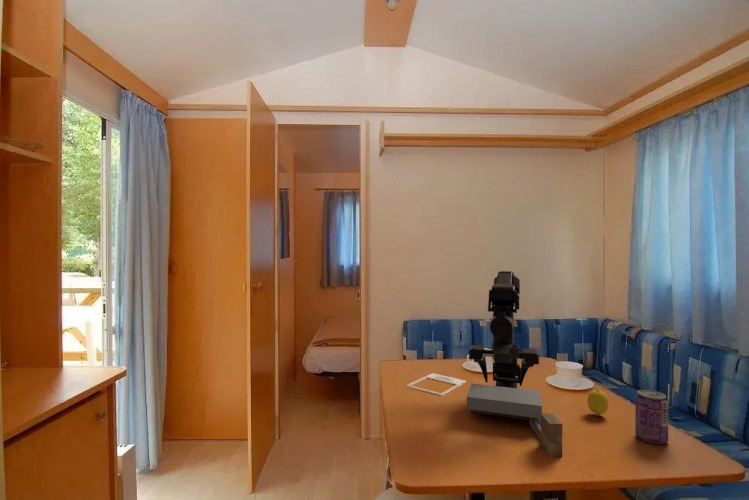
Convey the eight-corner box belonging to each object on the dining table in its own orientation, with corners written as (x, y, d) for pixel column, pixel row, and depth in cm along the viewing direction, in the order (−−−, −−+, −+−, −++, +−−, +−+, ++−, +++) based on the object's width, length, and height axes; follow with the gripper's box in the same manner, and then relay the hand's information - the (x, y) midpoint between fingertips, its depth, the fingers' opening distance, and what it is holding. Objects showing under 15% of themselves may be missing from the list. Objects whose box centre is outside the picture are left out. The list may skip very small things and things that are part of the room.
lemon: (607, 413, 122) (607, 387, 122) (609, 420, 117) (609, 393, 117) (586, 410, 125) (586, 384, 125) (587, 417, 120) (587, 390, 120)
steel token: (535, 421, 118) (535, 415, 118) (554, 425, 115) (554, 419, 115) (531, 427, 114) (531, 421, 114) (550, 431, 111) (550, 426, 111)
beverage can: (662, 435, 108) (662, 390, 108) (672, 448, 101) (672, 400, 101) (632, 431, 111) (632, 387, 110) (639, 443, 104) (639, 397, 104)
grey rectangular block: (540, 416, 121) (540, 390, 121) (541, 433, 110) (541, 405, 110) (471, 407, 128) (471, 383, 128) (466, 422, 117) (466, 396, 116)
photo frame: (466, 380, 151) (441, 394, 138) (466, 383, 151) (441, 397, 138) (432, 372, 161) (406, 384, 147) (432, 375, 161) (406, 387, 147)
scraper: (536, 424, 115) (536, 396, 115) (562, 457, 97) (562, 423, 97) (525, 423, 116) (525, 396, 116) (549, 456, 98) (549, 423, 98)
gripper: (466, 334, 111) (467, 390, 112) (540, 339, 105) (540, 398, 106) (470, 325, 122) (471, 377, 122) (537, 329, 116) (537, 383, 116)
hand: (503, 384), depth 116 cm, fingers open, 9 cm apart
